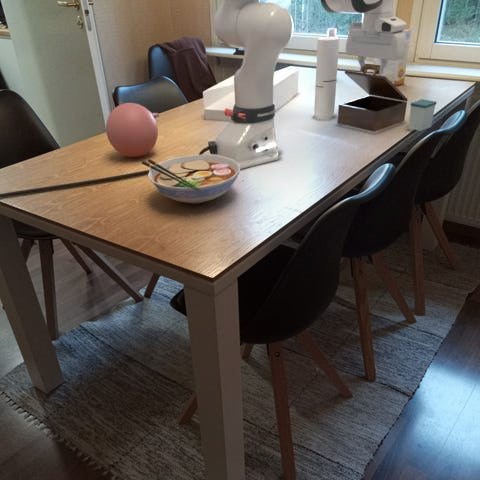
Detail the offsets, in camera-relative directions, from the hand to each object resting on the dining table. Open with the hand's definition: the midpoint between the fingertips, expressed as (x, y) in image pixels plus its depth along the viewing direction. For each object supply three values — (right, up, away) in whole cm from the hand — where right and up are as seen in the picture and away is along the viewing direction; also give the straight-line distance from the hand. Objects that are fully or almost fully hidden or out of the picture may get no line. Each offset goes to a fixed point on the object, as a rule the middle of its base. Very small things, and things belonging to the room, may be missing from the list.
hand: (371, 73), depth 156 cm
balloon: (-73, -27, -2) cm, 78 cm away
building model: (-37, +7, +39) cm, 54 cm away
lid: (+3, -2, +5) cm, 6 cm away
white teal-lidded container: (+17, -17, +4) cm, 24 cm away
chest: (+3, -12, +11) cm, 17 cm away
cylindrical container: (-12, -6, +21) cm, 25 cm away
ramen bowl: (-53, -48, -32) cm, 79 cm away
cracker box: (+22, +22, +55) cm, 63 cm away
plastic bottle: (0, +35, +73) cm, 80 cm away
